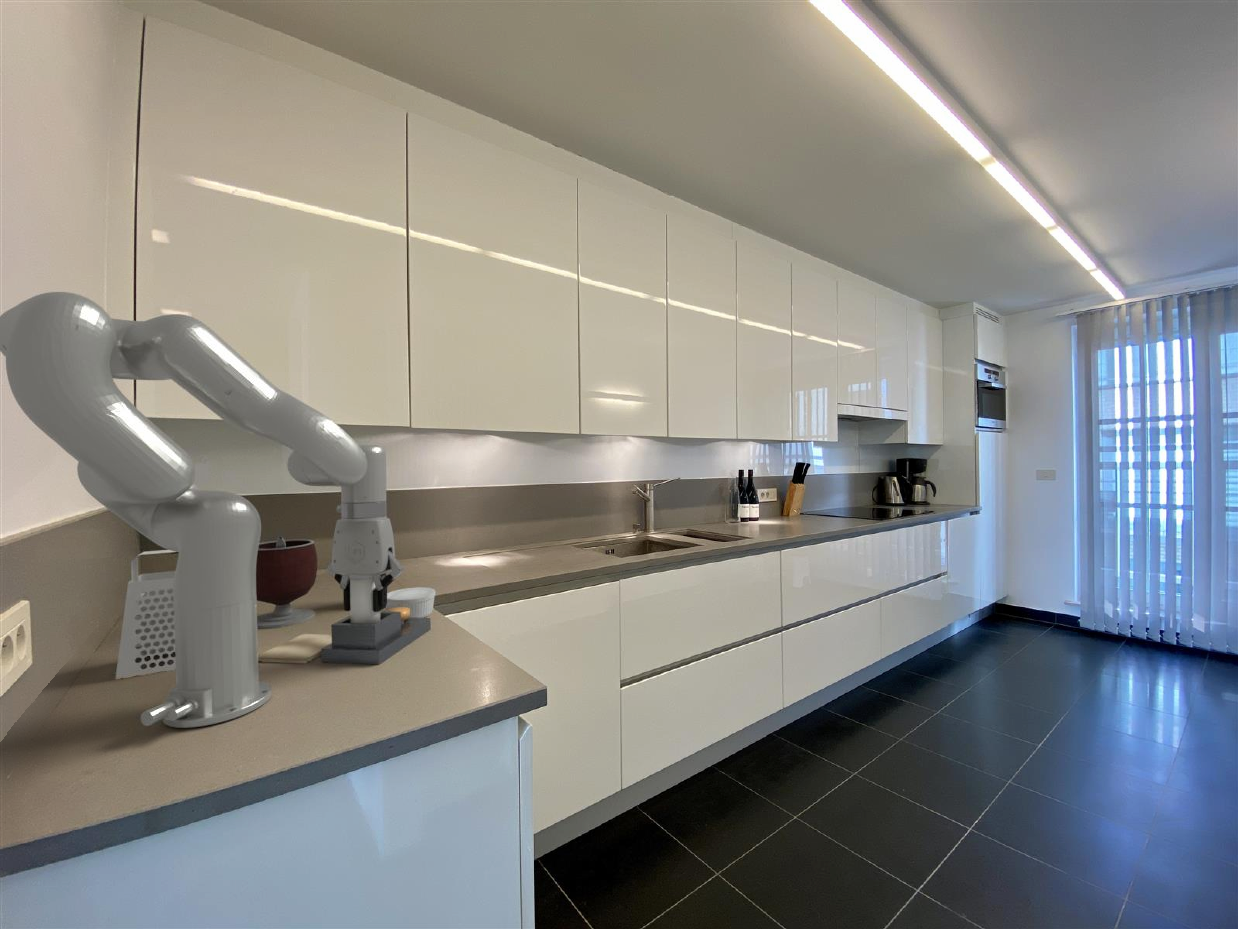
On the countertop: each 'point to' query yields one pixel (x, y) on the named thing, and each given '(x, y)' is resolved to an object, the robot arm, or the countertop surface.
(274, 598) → the mate gourd
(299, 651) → the mat
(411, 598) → the ramekin
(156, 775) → the countertop surface
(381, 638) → the housing
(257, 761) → the countertop surface
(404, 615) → the orange rounded lump
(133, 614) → the grater
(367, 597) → the cylinder
